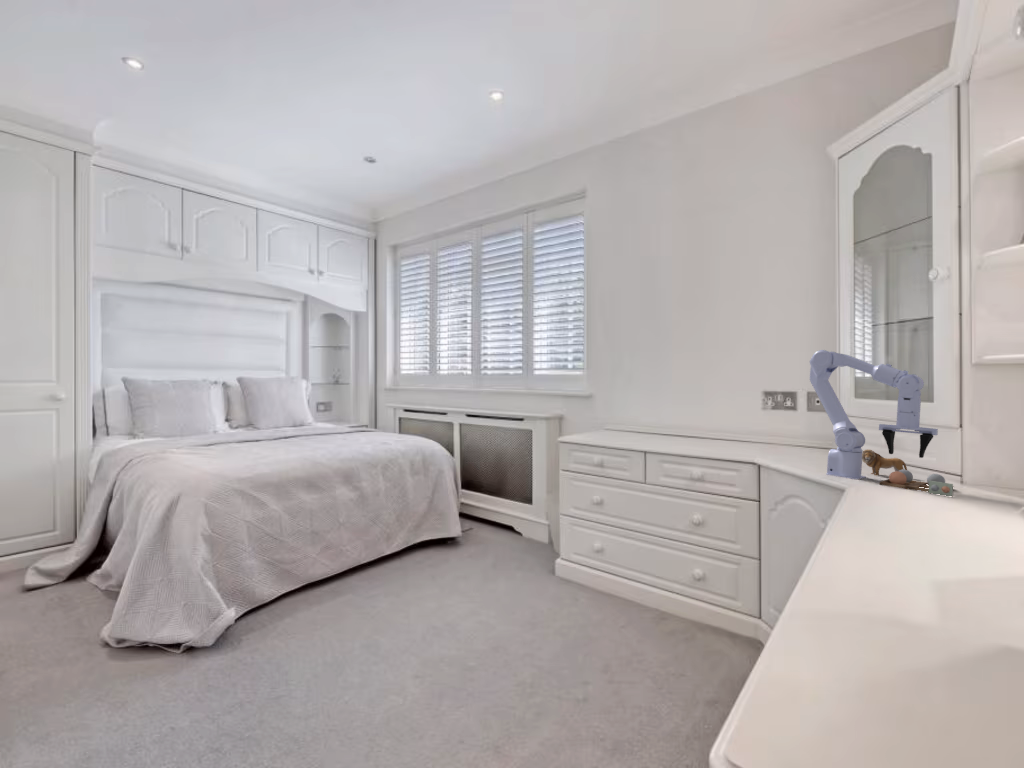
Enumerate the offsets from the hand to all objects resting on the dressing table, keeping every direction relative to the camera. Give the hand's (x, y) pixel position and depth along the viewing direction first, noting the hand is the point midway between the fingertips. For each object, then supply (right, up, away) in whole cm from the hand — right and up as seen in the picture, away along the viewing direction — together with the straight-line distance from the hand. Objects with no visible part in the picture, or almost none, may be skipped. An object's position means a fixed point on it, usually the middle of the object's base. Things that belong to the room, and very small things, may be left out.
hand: (905, 455), depth 160 cm
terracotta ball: (-4, -9, -1) cm, 10 cm away
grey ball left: (+2, -9, +3) cm, 10 cm away
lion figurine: (+5, -10, +17) cm, 20 cm away
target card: (-1, -10, -14) cm, 17 cm away
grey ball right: (+7, -10, -3) cm, 12 cm away
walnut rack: (+2, -10, -2) cm, 10 cm away
